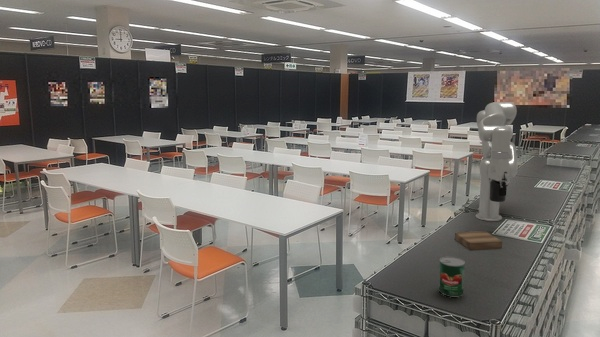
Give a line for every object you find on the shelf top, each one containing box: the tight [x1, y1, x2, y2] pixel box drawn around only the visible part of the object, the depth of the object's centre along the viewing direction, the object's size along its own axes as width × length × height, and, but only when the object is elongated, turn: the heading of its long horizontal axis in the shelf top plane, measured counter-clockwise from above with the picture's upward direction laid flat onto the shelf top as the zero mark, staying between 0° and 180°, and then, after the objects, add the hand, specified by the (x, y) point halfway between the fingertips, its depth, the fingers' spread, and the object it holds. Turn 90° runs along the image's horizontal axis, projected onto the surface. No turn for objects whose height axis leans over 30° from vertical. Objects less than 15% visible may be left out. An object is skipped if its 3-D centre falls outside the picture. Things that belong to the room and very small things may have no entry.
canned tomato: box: [438, 256, 466, 297], centre depth 137 cm, size 8×8×11 cm
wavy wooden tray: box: [454, 230, 503, 251], centre depth 182 cm, size 14×14×3 cm
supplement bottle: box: [489, 179, 507, 203], centre depth 190 cm, size 7×7×12 cm
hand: (497, 193), depth 190 cm, fingers closed on supplement bottle, 6 cm apart
